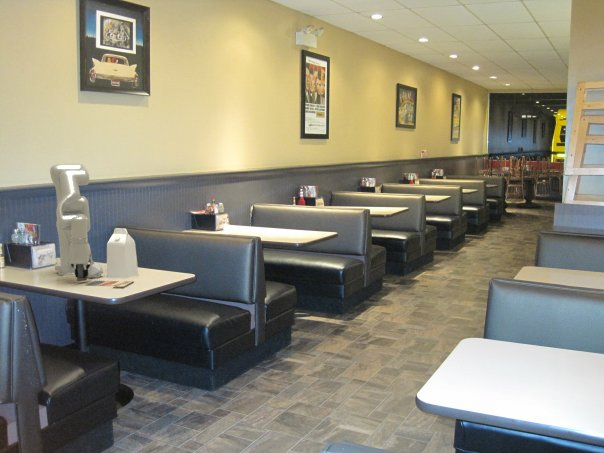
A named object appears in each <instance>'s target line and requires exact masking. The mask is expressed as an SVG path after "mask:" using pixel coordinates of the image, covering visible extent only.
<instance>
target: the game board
mask: <svg viewBox="0 0 604 453" xmlns="http://www.w3.org/2000/svg"><path fill="white" fill-rule="evenodd" d="M134 283H135V281H133V280H132V281H130V280H128V281H127V280H126V281H125V280H124V281H123V280H122V281H121V280H85V281H76V282H75V283H73V284H72V286H77V287H78V286H79V287H80V286H85V287H87V286H88V287H89V286H90V287H98V286H99V287H112V289H125V288H127V287H129V286H130V285H132V284H134Z"/></svg>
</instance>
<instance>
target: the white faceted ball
mask: <svg viewBox="0 0 604 453" xmlns="http://www.w3.org/2000/svg"><path fill="white" fill-rule="evenodd" d="M103 273H104V271H103V268H102V266H101V265H100V263H94V264H93V265H91V266H90V267H89V269H88V276H87V279H100V278H101V276H103Z"/></svg>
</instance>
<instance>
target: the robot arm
mask: <svg viewBox="0 0 604 453" xmlns="http://www.w3.org/2000/svg"><path fill="white" fill-rule="evenodd" d="M49 172H50V179H51V181H52V183H53V185H54V188H55V193H56V205H57V206H56V210H55V211H56V213H55V214H56V222H55V224H56V230H57V235H58V243H59V258H60V259H59V260H60V262H59V263H60V265H55V266H54V270H57V271H58V272H57V274H58V275H60V276H65V275H74V276H75V278H77V277H78V269H77V266H78V265H77V264H83V266H84V270H83V277H84V278H85V277H87V276H88V269H89V267H90V266H91V265H93V264H95V262H94V261H93V260H94V259H93V258H92V252H91V251H92V249H91V245H90V242H89V240H88V239H89V238H88V232H89V231H90V230H91V217H90V215H91V214H90V206H89V200H88V199H87V198H86V196H83V195H81V192H80V187H79V186H88V185H89V184H90V175H89V171H88V170H87V168H86V166H84V164H81V163H63V164H60V163H58V164H54V165H51V167H50V169H49ZM87 278H88V277H87Z"/></svg>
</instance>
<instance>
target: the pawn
mask: <svg viewBox="0 0 604 453" xmlns="http://www.w3.org/2000/svg"><path fill="white" fill-rule="evenodd" d="M77 265H78V266H77V269H78V277H76V282H79V281H88V277H85V278H84V277H83V270H84V266H83V264H77Z"/></svg>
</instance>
